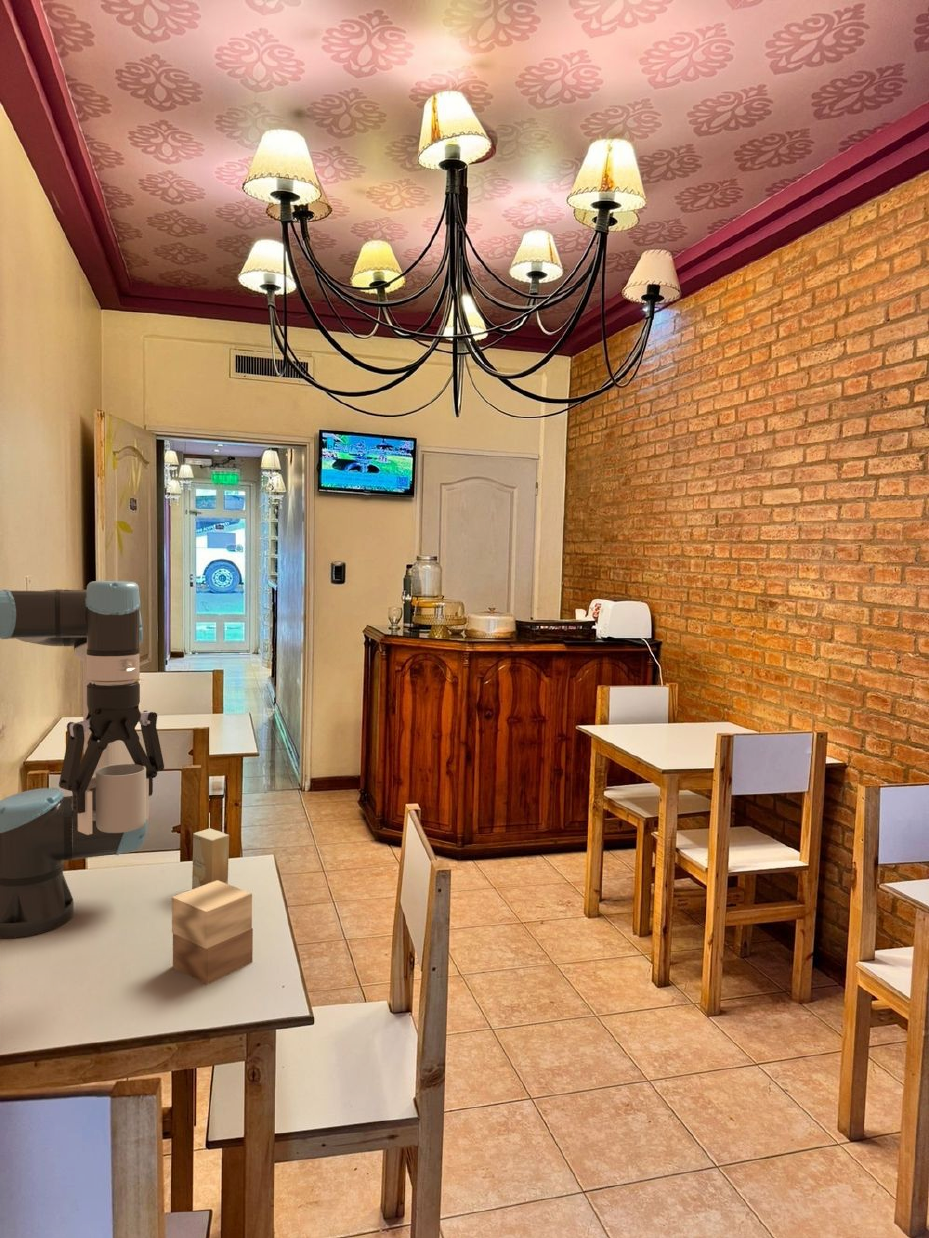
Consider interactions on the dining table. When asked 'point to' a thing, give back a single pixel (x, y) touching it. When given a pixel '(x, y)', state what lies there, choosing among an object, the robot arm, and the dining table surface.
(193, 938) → the beech block
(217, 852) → the skincare box
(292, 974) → the dining table surface
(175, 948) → the walnut block
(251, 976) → the dining table surface
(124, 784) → the cup
